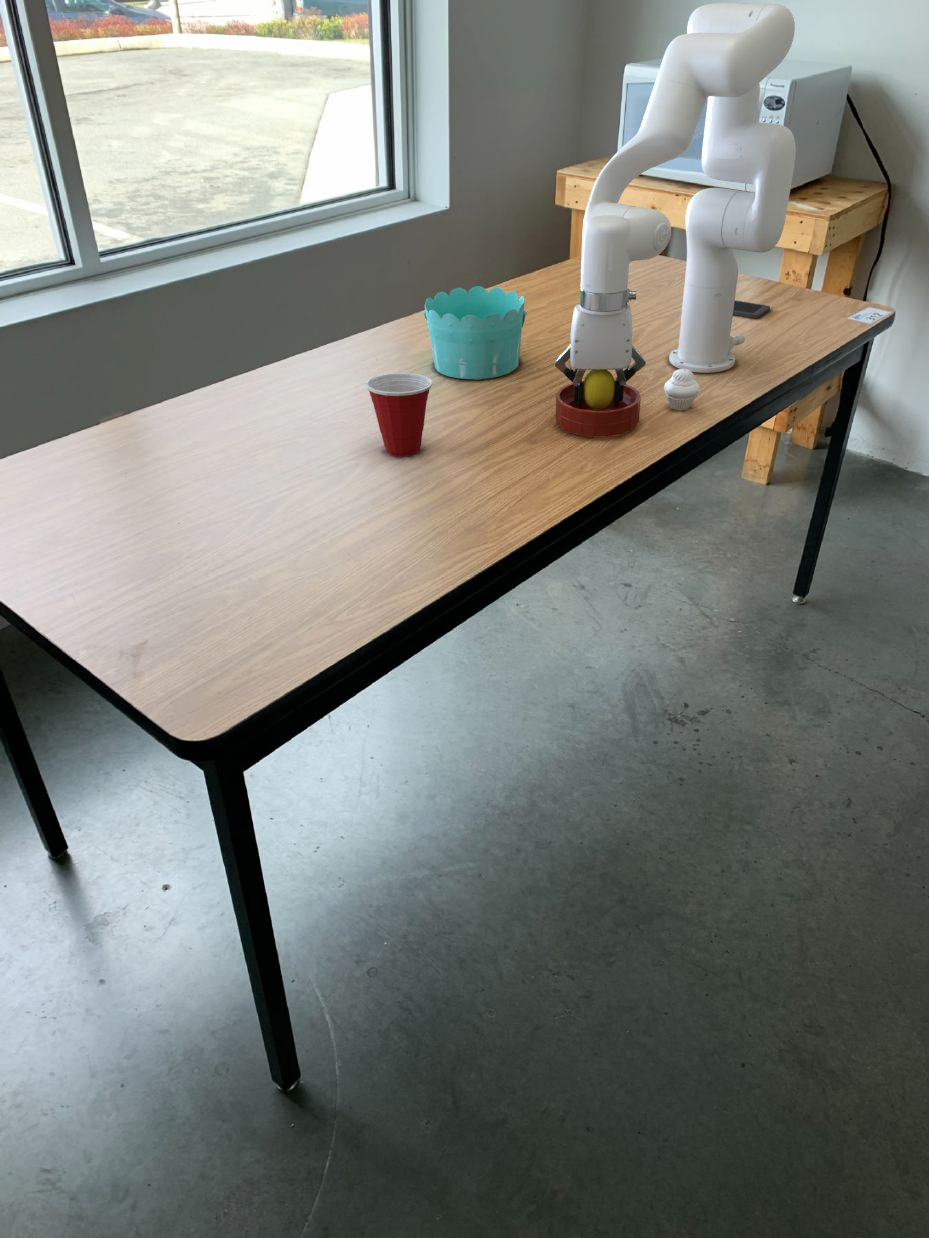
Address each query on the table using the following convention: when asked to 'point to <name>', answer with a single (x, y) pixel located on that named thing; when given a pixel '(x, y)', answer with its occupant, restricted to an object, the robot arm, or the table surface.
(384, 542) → the table surface
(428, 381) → the plastic cup
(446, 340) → the basket
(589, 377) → the lemon
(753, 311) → the cell phone
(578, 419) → the bowl
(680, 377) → the muffin
